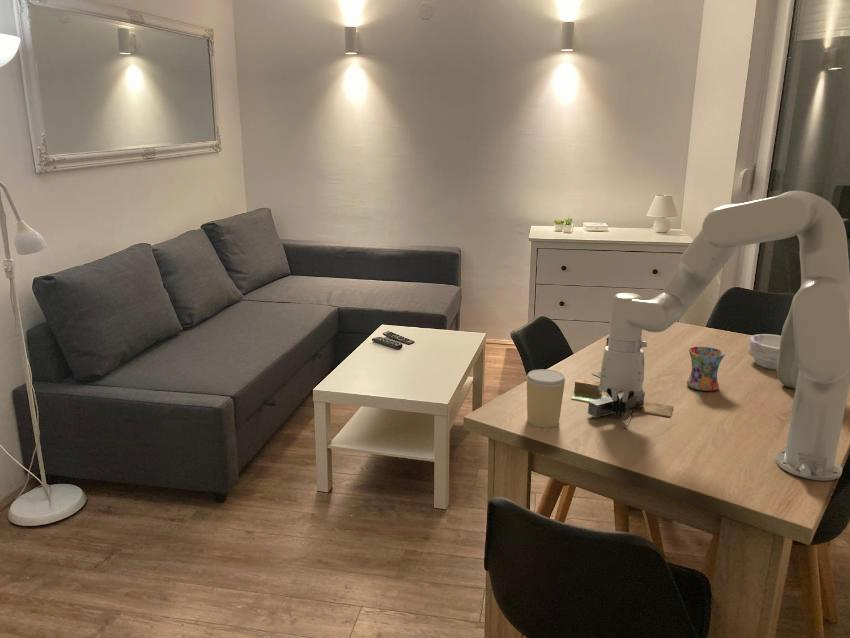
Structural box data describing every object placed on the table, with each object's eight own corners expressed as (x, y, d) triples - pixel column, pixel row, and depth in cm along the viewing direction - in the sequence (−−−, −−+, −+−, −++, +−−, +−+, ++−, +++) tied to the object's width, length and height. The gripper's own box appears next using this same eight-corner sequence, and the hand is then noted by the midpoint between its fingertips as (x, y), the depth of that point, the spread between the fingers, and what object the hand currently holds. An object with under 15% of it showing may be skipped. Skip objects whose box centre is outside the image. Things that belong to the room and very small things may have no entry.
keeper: (623, 408, 181) (624, 396, 180) (569, 398, 186) (570, 387, 186) (628, 398, 188) (629, 386, 187) (576, 389, 193) (577, 378, 192)
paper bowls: (808, 375, 207) (813, 350, 205) (754, 372, 209) (758, 346, 207) (791, 359, 221) (795, 335, 219) (740, 356, 223) (743, 332, 221)
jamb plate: (663, 436, 164) (663, 435, 164) (611, 427, 169) (612, 425, 169) (673, 407, 182) (673, 406, 181) (625, 399, 186) (626, 398, 186)
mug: (714, 396, 190) (719, 359, 187) (679, 388, 195) (684, 352, 192) (726, 384, 199) (731, 348, 196) (693, 376, 204) (698, 342, 201)
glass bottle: (817, 395, 191) (834, 296, 184) (775, 390, 194) (791, 292, 187) (810, 383, 200) (827, 288, 193) (771, 378, 203) (786, 284, 196)
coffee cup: (567, 418, 174) (571, 373, 171) (554, 432, 166) (557, 384, 163) (532, 410, 179) (535, 366, 175) (518, 423, 171) (520, 377, 168)
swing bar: (635, 399, 185) (636, 386, 184) (646, 404, 181) (648, 391, 180) (586, 412, 176) (587, 399, 175) (597, 418, 172) (599, 404, 171)
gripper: (657, 343, 170) (650, 413, 175) (594, 337, 175) (589, 405, 179) (656, 352, 163) (649, 424, 168) (591, 345, 168) (586, 416, 173)
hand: (618, 414), depth 174 cm, fingers closed
